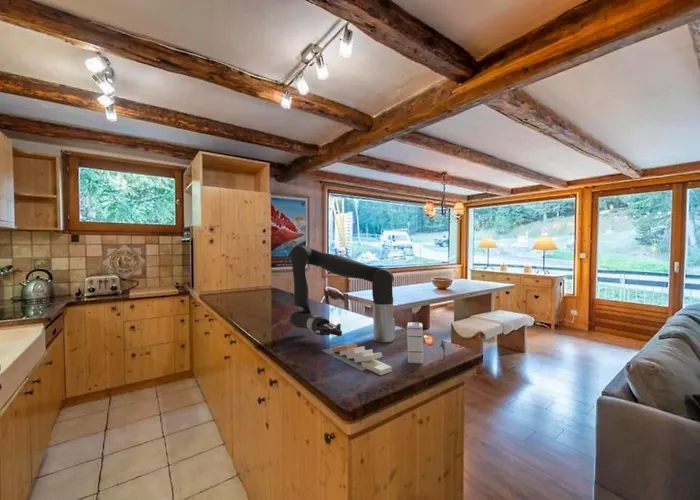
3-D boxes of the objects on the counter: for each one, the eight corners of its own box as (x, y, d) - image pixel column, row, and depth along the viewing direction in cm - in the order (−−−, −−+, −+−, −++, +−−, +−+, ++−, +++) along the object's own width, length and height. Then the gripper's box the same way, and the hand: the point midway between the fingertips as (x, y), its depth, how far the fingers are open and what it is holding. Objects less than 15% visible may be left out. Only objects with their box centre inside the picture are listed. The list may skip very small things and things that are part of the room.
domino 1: (342, 345, 126) (356, 343, 118) (343, 349, 125) (357, 347, 118) (332, 348, 123) (346, 345, 115) (333, 352, 122) (347, 350, 115)
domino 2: (349, 348, 122) (364, 345, 115) (350, 352, 122) (365, 350, 114) (339, 351, 119) (353, 348, 112) (340, 355, 119) (354, 353, 111)
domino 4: (364, 355, 115) (381, 352, 107) (365, 359, 114) (382, 356, 107) (353, 358, 112) (370, 355, 104) (354, 362, 111) (372, 360, 104)
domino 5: (372, 358, 111) (391, 366, 103) (372, 362, 111) (391, 371, 103) (361, 361, 108) (381, 370, 100) (361, 366, 108) (381, 375, 100)
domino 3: (356, 352, 118) (372, 348, 111) (357, 356, 118) (373, 353, 111) (346, 354, 115) (361, 351, 108) (347, 359, 115) (362, 356, 108)
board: (341, 347, 131) (341, 345, 131) (382, 366, 110) (382, 363, 110) (321, 352, 125) (321, 350, 125) (361, 373, 104) (361, 370, 104)
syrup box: (423, 366, 110) (423, 326, 110) (407, 365, 111) (406, 325, 111) (423, 360, 116) (423, 322, 116) (407, 359, 117) (407, 321, 117)
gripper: (305, 318, 133) (326, 327, 119) (330, 314, 141) (353, 321, 127) (305, 336, 133) (326, 346, 119) (330, 330, 141) (353, 339, 127)
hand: (340, 333), depth 123 cm, fingers closed
